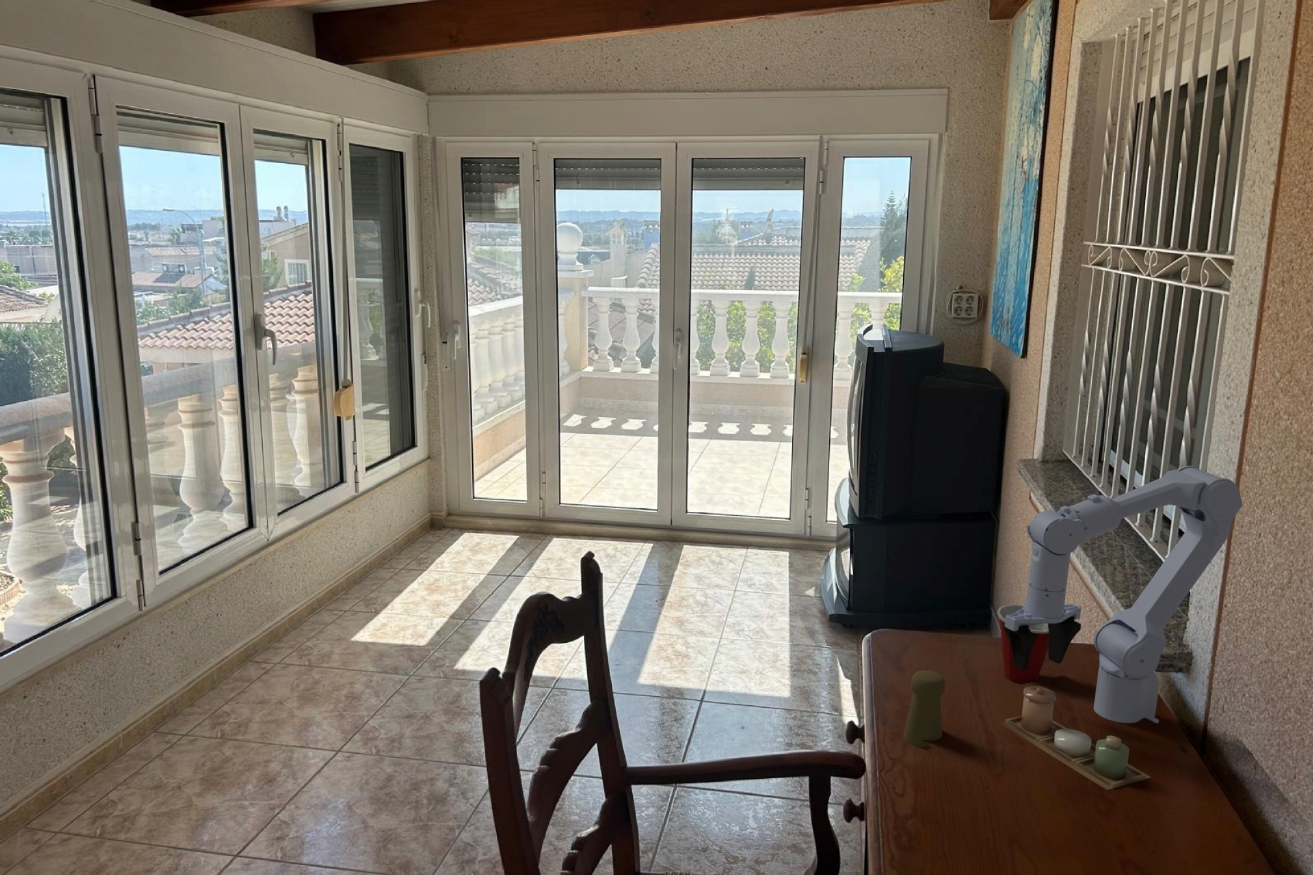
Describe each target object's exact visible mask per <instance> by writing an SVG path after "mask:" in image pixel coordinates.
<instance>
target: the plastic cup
mask: <svg viewBox="0 0 1313 875" xmlns="http://www.w3.org/2000/svg"><path fill="white" fill-rule="evenodd" d="M1021 609H1022V604H1006V605H1003V606H1002V605H1001V606H1000V607H999V608H998V610H997V613H996V614H997V616H998V619H999V628H1000V641H1001V656H1002V664H1003V666H1002V667H1003V672H1004V673H1005V674H1004V676H1005V675H1006V676H1005V677H1006V678H1007V677H1008V678H1009V679H1008V678H1007V679H1008V680H1010V679H1011V680H1010V681H1012V680H1014V681H1013V682H1015V681H1017V682H1016V683H1018V682H1020V683H1019V684H1025V683H1027V684H1031V683H1035V682H1038V679H1039V677H1040V674H1041V671H1042V670H1041V669H1042V667H1043V666H1044V663H1045V659H1046V656H1047V654H1048V648H1049V630H1048V623H1044V624H1038V625H1033V626H1029V629H1031V631H1030V632H1032V633H1034V634H1036V635H1038V638H1037V639H1036V641H1035V643H1034V645H1033V648H1032V651H1031V654H1030V660H1029V665H1028V668H1027V670H1026V671H1022V670H1020V669H1018V668H1017V667H1015V666H1014V660H1013V654H1012V649H1011V645H1010V642H1009V639H1008V637H1007V634H1006V632H1005V630H1004V623H1005V620H1006V615H1011V614H1013V613H1015V612H1017V611H1019V610H1021Z"/></svg>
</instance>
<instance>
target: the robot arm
mask: <svg viewBox="0 0 1313 875" xmlns="http://www.w3.org/2000/svg"><path fill="white" fill-rule="evenodd" d="M1165 506H1175V507H1177V508H1178V510H1179V511H1180V512H1181V514H1182V517H1183V520H1184V524H1185V528H1186V530H1185V532H1184V533H1183V534H1182V536H1181V538H1180V539H1179V540H1178V542H1177V543H1176V544H1175V546H1174V547H1173V549H1172V550H1171V551H1170V552H1169V554H1168V555H1167V557H1166V558H1165V560H1164V561H1163V563H1162V564H1161V566H1160V567H1159V568H1158V570H1157V571H1156V572H1155V574H1154V576H1153V577H1152V578H1151V580H1150V581H1149V582H1148V584H1147V585H1146V586H1145V587H1144V589H1143V591H1142V592H1141V593H1140V595H1139V596H1138V598H1137V599H1136V600H1135V602H1134V603H1133V604H1132V606H1131V607H1130V608H1126V609H1122V610H1119V611H1117V612H1115V613H1114V614H1113V615H1112V617H1111V618H1110V619H1109V620H1108V621H1107V622H1104V623H1103V624H1101V625H1100V626H1099V627H1098V628H1097V629H1096V631H1095V633H1094V636H1093V644H1094V646H1093V647H1095V649H1096V651H1097V652H1098V653H1099V655H1098V656H1099V657H1098V660H1099V666H1098V673H1097V681H1096V689H1095V694H1094V697H1095V698H1094V701H1093V702H1094V703H1093V710H1094V712H1095V713H1096V714H1098V716H1100V717H1102V718H1104V719H1107V720H1109V721H1113V722H1115V723H1121V724H1133V723H1134V724H1135V723H1137V722H1139V721H1141V720H1142V719H1146V720H1149V721H1151V722H1153V723H1155V724H1159V723H1160V720H1159V719H1158V718H1156V716H1155V715H1156V710H1157V703H1158V697H1159V691H1160V690H1159V689H1160V685H1159V684H1160V683H1159V679H1158V676H1157V674H1156V673H1155V670H1156V669H1157V668H1158V666H1159V664H1160V659H1161V655H1162V653H1163V650H1165V648H1166V646H1167V641H1166V636H1165V632H1164V627H1165V626H1166V624H1167V623H1168V622H1169V620H1170V619H1171V618H1172V616H1173V615H1174V614H1175V612H1176V610H1177V609H1178V608H1179V607H1180V605H1181V604H1182V602H1183V601H1184V600H1185V598H1186V596H1188V594H1189V593H1190V592H1191V590H1192V589H1193V587H1194V585H1195V584H1196V583H1197V581H1198V580H1199V578H1200V577H1201V576H1202V575H1203V573H1204V572H1205V570H1206V569H1207V568H1208V567H1209V565H1210V564H1211V562H1212V561H1213V560H1214V558H1215V557H1216V555H1217V554H1218V552H1219V551H1220V550H1221V548H1222V546H1223V545H1224V544H1225V543H1226V541H1227V540H1228V539H1229V535H1230V531H1231V528H1232V523H1233V520H1234V518H1235V516H1236V515H1238V513H1239V511H1240V510H1241V508H1242V507H1243V501H1242V496H1241V492H1240V489H1239V487H1238V485H1237V483H1235V482H1234V481H1233V480H1231V479H1228V478H1225V477H1221V476H1218V475H1215V474H1213V473H1209V472H1208V471H1207V472H1206V471H1204V470H1202V469H1200V468H1199V467H1196V466H1193V465H1184V466H1181V467H1179V468H1177V469H1173V470H1168V471H1167V472H1166V473H1164V475H1163V476H1161V477H1160V478H1158V479H1155V480H1153V481H1151V482H1147V483H1146V484H1143V485H1141V486H1138V487H1136V488H1134V489H1132V490H1129V491H1127V492H1125V493H1122V494H1120V495H1118V496H1115V497H1114V498H1110V497H1108V496H1106V495H1103V494H1101V495H1097V494H1096V493H1093V494H1090V495H1088V496H1087V499H1086V500H1084V501H1080V502H1078V503H1076V504H1072V505H1070V506H1067V505H1064V506H1060V507H1059V510H1058V511H1054V510H1050V509H1049V510H1043V511H1040V512H1039V513H1037V514H1036V515H1035V516H1034V517H1033V518H1032V520H1031V522H1030V524H1028V525H1027V526H1026V532H1027V535H1028V537H1029V538H1030V539H1031V542H1032V544H1031V557H1030V567H1029V574H1028V584H1027V592H1026V593H1027V594H1026V602H1025V603H1022V604H1021V605H1022V609H1021V610H1019V611H1017V612H1015V613H1013V614H1011V615H1006V620H1005V623H1004V630H1005V632H1006V634H1007V637H1008V639H1009V642H1010V645H1011V649H1012V654H1013V660H1014V666H1015V667H1017V668H1018V669H1020V670H1022V671H1026V670H1027V668H1028V665H1029V660H1030V654H1031V651H1032V648H1033V645H1034V643H1035V641H1036V639H1037V638H1038V635H1036V634H1034V633H1032V632H1030V631H1031V629H1029V626H1033V625H1038V624H1044V623H1048V630H1049V648H1048V651H1047V654H1048V659H1049V660H1051V661H1052V662H1054V663H1056V664H1058V665H1059V664H1062V662H1063V659H1064V658H1065V655H1066V654H1067V653H1066V652H1067V651H1068V648H1069V647H1070V645H1071V642H1072V641H1073V640H1074V638H1075V637H1076V636H1077V634H1078V633H1079V632H1080V631H1081V630H1082V623H1080V622H1079V621H1077V620H1081V613H1082V608H1081V607H1080V606H1077V605H1075V604H1074V603H1068V604H1065V603H1066V594H1067V586H1068V578H1069V569H1070V562H1071V554H1072V553H1074V552H1075V550H1077V548H1078V547H1079V546H1080V544H1081V543H1082V542H1085V541H1086V540H1090V539H1091V538H1095V537H1097V536H1099V535H1102V534H1105V533H1108V532H1111V531H1113V530H1115V529H1117V528H1118V527H1119V525H1120V523H1121V521H1122V519H1125V518H1129V517H1133V516H1135V515H1138V514H1141V513H1145V512H1148V511H1153V510H1156V509H1159V508H1162V507H1165Z"/></svg>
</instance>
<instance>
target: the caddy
mask: <svg viewBox="0 0 1313 875" xmlns="http://www.w3.org/2000/svg"><path fill="white" fill-rule="evenodd" d="M1021 719H1022V715H1018V716H1015V717H1010V718H1006V719H1005V721H1003V722H1000V723H999V724H1000V725H1002V726H1003V727H1004V728H1007V729H1008V730H1010V731H1011V732H1013V733H1014V734H1016V735H1018V736H1019V737H1020V738H1022V739H1024V740H1026V741H1027V742H1029V743H1031V744H1032V745H1034V746H1035V747H1037V748H1039V749H1040V750H1042V751H1043V752H1045V753H1046V754H1048V755H1050V756H1052V757H1053V758H1055V759H1056V760H1058V761H1060V762H1061V763H1063V764H1064V765H1066V766H1068V767H1069V768H1071V769H1072V770H1074V771H1075V772H1077V773H1079V774H1081V775H1083V776H1084V777H1086V778H1087V779H1088V780H1090V781H1091V782H1094V783H1096V784H1097V785H1098V786H1099V787H1102V788H1103V789H1105V790H1106V791H1109V790H1113V789H1118V788H1120V787H1123V786H1127V785H1130V784H1135V783H1136V782H1137V783H1138V782H1141V781H1145V780H1147V779H1150V778H1152V776H1150V775H1148V774H1146V773H1145V772H1143V771H1141V770H1139V769H1137V768H1136V767H1134V766H1133V765H1131V764H1130V763H1127V770H1126V776H1125V778H1123V779H1109V778H1106V777H1103V776H1101V775H1099V774H1097V773H1096V772H1095V771H1094V769H1093V766H1094V758H1095V751H1096V744H1094V743H1093V742H1091V750H1090V755H1087V756H1083V757H1080V758H1076V757H1070V756H1068V755H1066V754H1064V753H1063V752H1061V751H1059V750H1058V749H1056V748H1054V738H1055V732H1056V731H1057V730H1059V729H1068V728H1067V727H1066V726H1063V725H1062V724H1060V723H1058V722H1056V721H1054V720H1053V719H1052V724H1051V731H1050V733H1048V734H1034V733H1031V732H1028V731H1026V730H1025V729H1023V728H1022V727H1021Z"/></svg>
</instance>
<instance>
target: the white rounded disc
mask: <svg viewBox="0 0 1313 875" xmlns="http://www.w3.org/2000/svg"><path fill="white" fill-rule="evenodd" d="M1091 743H1093V742H1092V738H1091V737H1090V736H1089V735H1088V734H1087V733H1084V732H1083V731H1080V730H1078V729H1077V730H1076V729H1073V728H1067V729H1059V730H1057V731H1056V732H1055V738H1054V748H1056V749H1058V750H1059V751H1061V752H1063V753H1064V754H1066V755H1068V756H1070V757H1076V758H1080V757H1083V756H1087V755H1090V750H1091Z"/></svg>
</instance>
